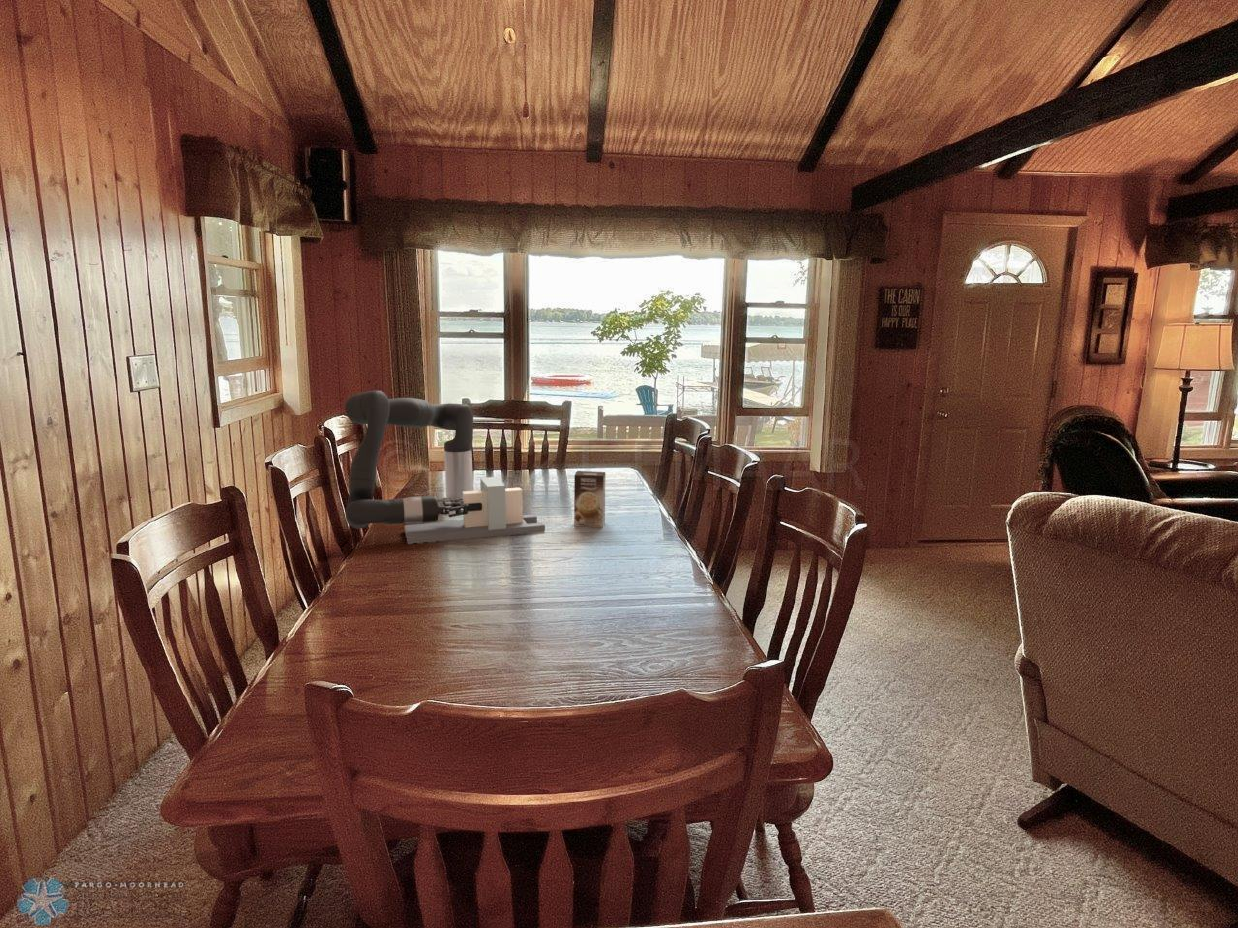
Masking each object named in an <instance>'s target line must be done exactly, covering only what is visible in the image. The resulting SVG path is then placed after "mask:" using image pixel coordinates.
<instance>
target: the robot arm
mask: <svg viewBox="0 0 1238 928" xmlns="http://www.w3.org/2000/svg"><path fill="white" fill-rule="evenodd" d="M344 412H345V414H346V416H347V418H348V419H349V420H350V421H351V422H353V423H355V424H356V425H357V424H358V425H360V426H362V425H367V427H366V430H365V434H364V436H363V438H362V440H361V443H360V445H359V446H358V448H357V449H356V451H355V453H354V456H353V457H352V460H351V464H350V469H349V479H348V491H349V494H348V498H347V499H348V501H347V506H346V507H345V510H344V511H345V512H344V513H345V519H346V522H347V523H348V525H349V526H350V527H351V528H353V529H357V530H358V529H359V530H360V529H364V528H366V527H368V526H369V525H370V524H382V523H383V524H385V525H399V524H425V523H437V521H439V515H444V516H448V518H453V517H458V516H463V515H465V514H468V512H469V511H481V510H482V504H481V503H470V504H468V503H466V504H463V491H474V490H473V460H472V458H473V456H472V444H473V441H474V440H473V439H474V413H473V410H472V408H471V407H470V406H469V405H468V404H465V403H450V402H449V403H438V404H437V403H430V402H429V401H428V400H425V399H421V398H414V397H397V398H388V396H387V394H385V392H383V391H381V390H378V389H376V390H375V389H374V390H369V391H364V392H358V393H355V394H353V395H351V396H350V397H348V398H347V400H346V402H345V405H344ZM387 425H391V426H397V427H405V428H406V427H407V428H415V429H416V428H417V429H419V428H420V429H421V428H426V427H434V428H438V429H443V430H446V431H454V432H455V435H454V437H453V438H451V439H450V440H447V441H445V442H444V443H443V450H444V451H443V454H444V456H443V457H444V481H445V497H444V498H443V499H442V500H441V501H438V498H437V497H438V496H436V495H434V494H433V495H422V496H419V495H418V496H410V497H405V498H393V499H392V498H391V499H374V492H375V488H376V479H377V470H378V462H379V455H380V451H381V448H382V443H383V441H384V440H383V439H384V436H385V432H386V428H387Z"/></svg>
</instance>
